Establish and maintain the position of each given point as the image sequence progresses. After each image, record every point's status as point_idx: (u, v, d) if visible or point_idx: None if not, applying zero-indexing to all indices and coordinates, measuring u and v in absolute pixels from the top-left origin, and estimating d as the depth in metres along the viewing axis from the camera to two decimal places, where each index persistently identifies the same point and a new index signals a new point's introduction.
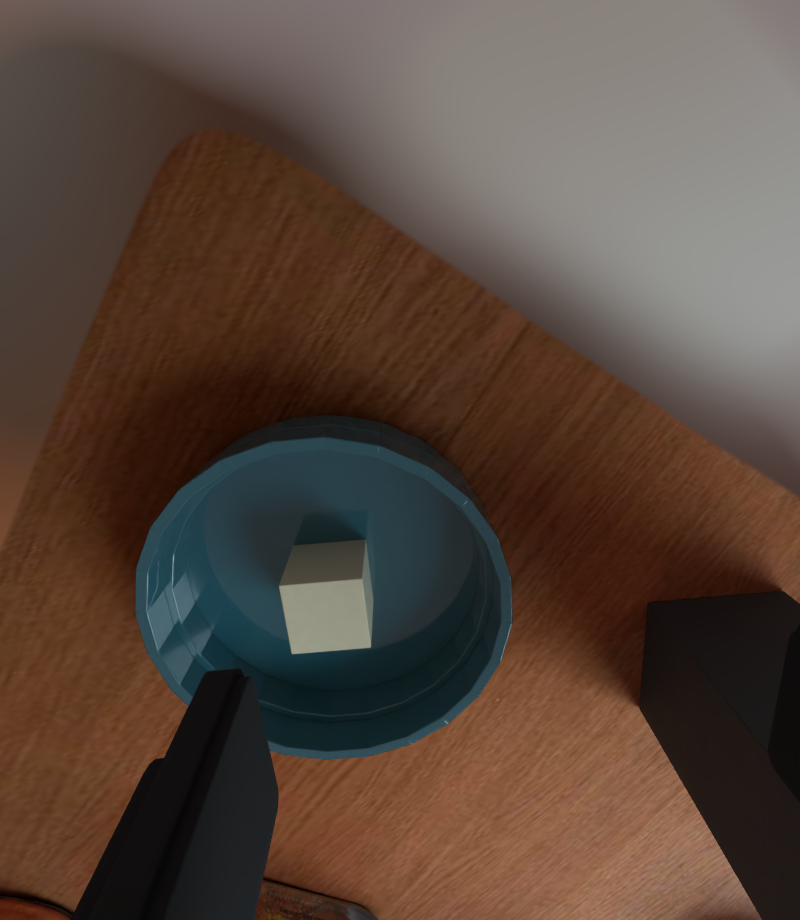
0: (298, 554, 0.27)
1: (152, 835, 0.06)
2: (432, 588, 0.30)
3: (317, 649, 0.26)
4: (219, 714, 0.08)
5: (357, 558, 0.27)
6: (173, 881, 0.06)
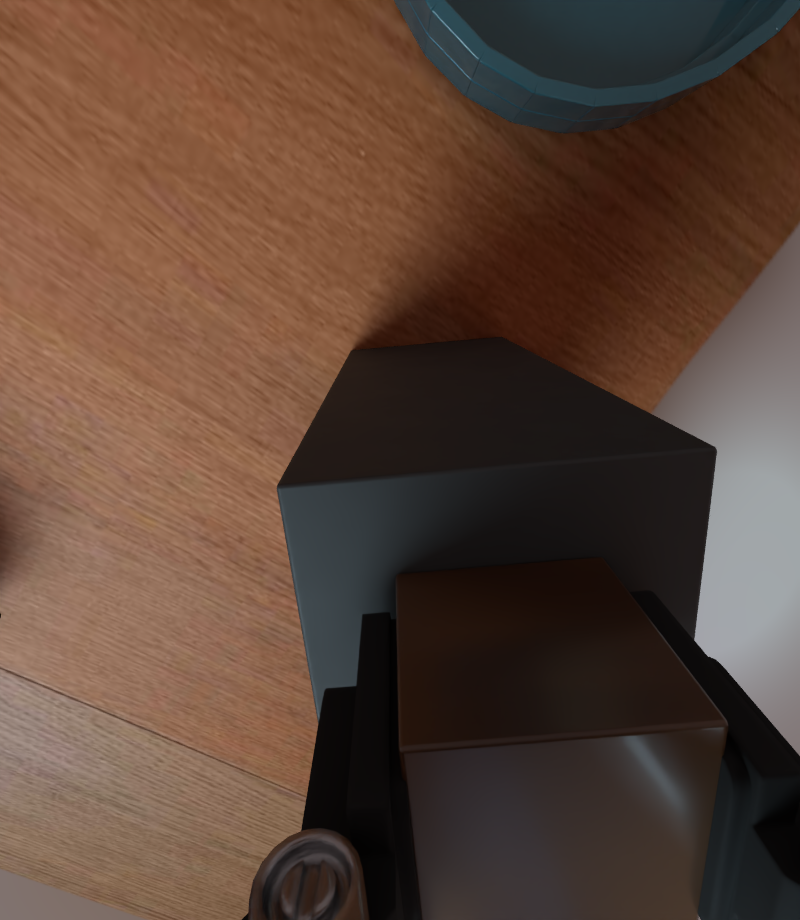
0: None
1: (374, 732, 0.07)
2: (556, 37, 0.23)
3: None
4: (389, 646, 0.09)
5: None
6: None
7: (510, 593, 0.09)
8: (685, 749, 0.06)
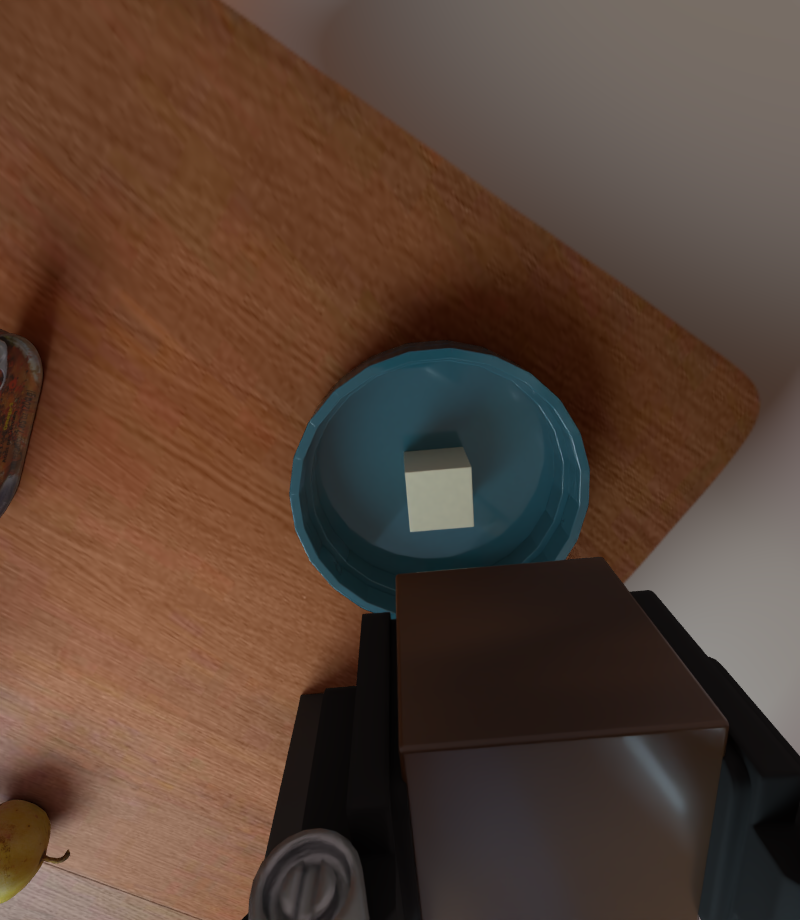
0: None
1: (374, 731, 0.07)
2: (419, 548, 0.37)
3: (409, 492, 0.32)
4: (389, 646, 0.09)
5: None
6: None
7: (510, 593, 0.09)
8: (685, 750, 0.06)
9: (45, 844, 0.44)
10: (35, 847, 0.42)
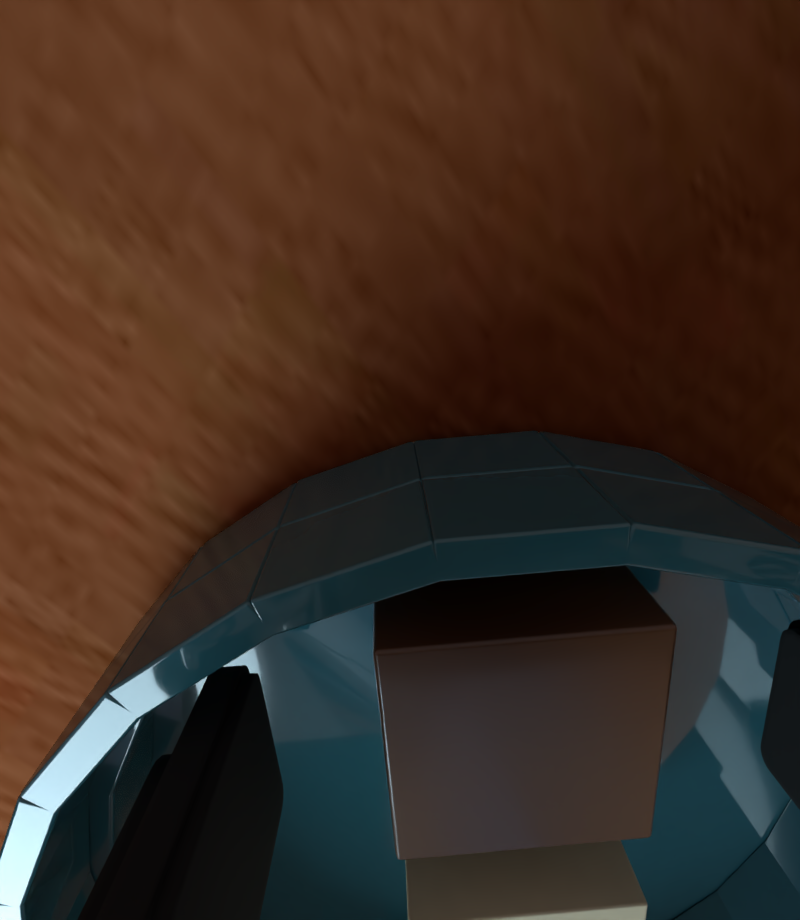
0: None
1: (161, 829, 0.06)
2: None
3: None
4: (226, 710, 0.08)
5: None
6: (183, 874, 0.06)
7: None
8: (637, 652, 0.07)
9: None
10: None
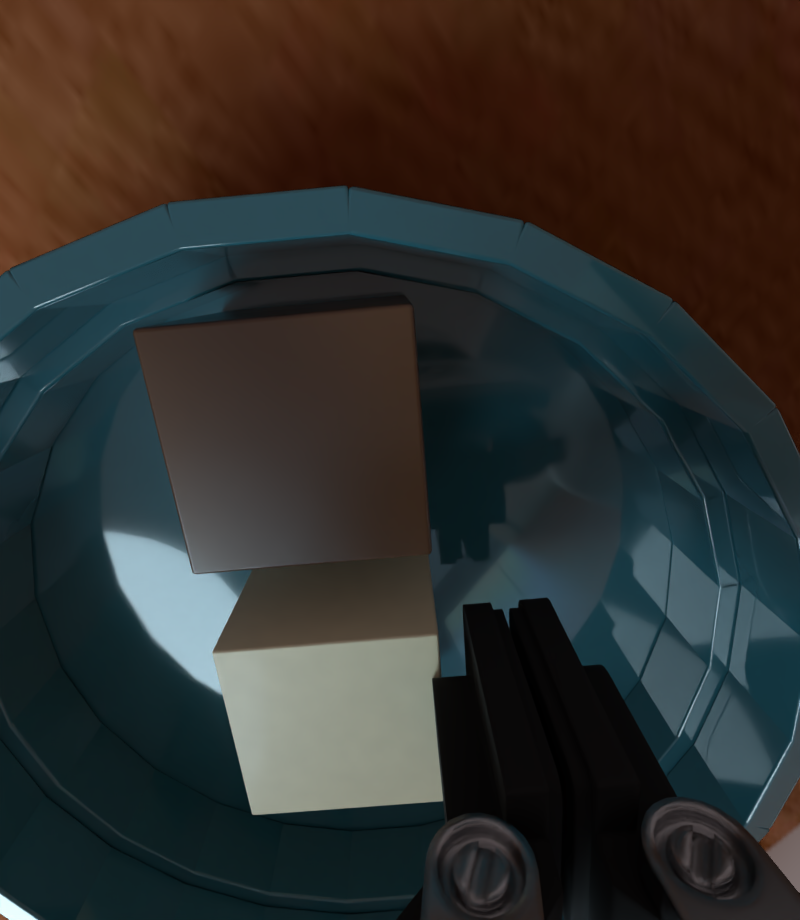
0: None
1: (511, 718, 0.07)
2: None
3: (235, 711, 0.10)
4: (500, 635, 0.09)
5: None
6: (546, 751, 0.07)
7: (305, 305, 0.10)
8: (378, 333, 0.07)
9: None
10: None
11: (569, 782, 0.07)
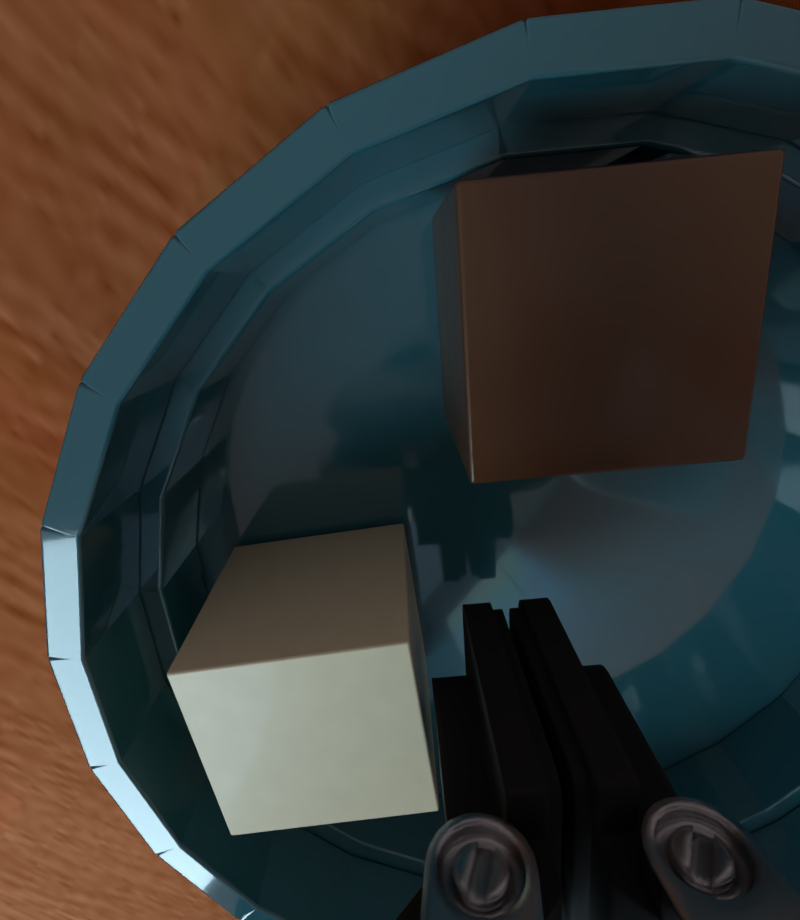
0: (407, 565, 0.11)
1: (511, 718, 0.07)
2: None
3: (199, 733, 0.09)
4: (499, 635, 0.09)
5: (430, 713, 0.11)
6: (546, 750, 0.07)
7: None
8: (740, 184, 0.06)
9: None
10: None
11: (569, 782, 0.07)
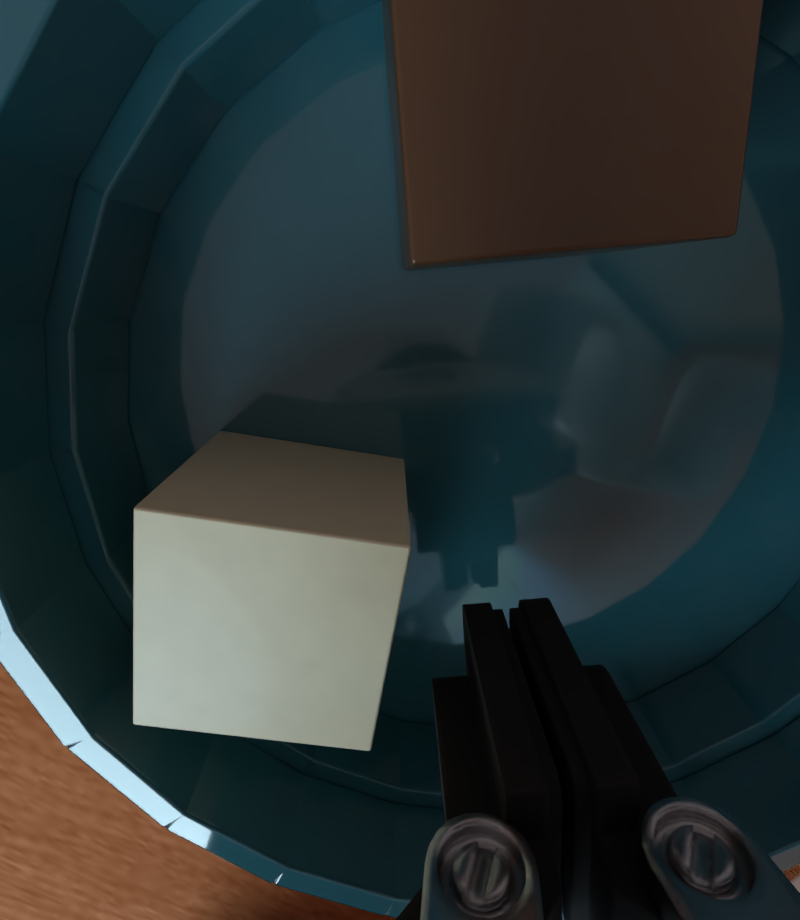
0: None
1: (510, 718, 0.07)
2: (455, 647, 0.13)
3: (144, 589, 0.08)
4: (499, 635, 0.09)
5: None
6: (546, 751, 0.07)
7: None
8: None
9: None
10: None
11: (569, 782, 0.07)
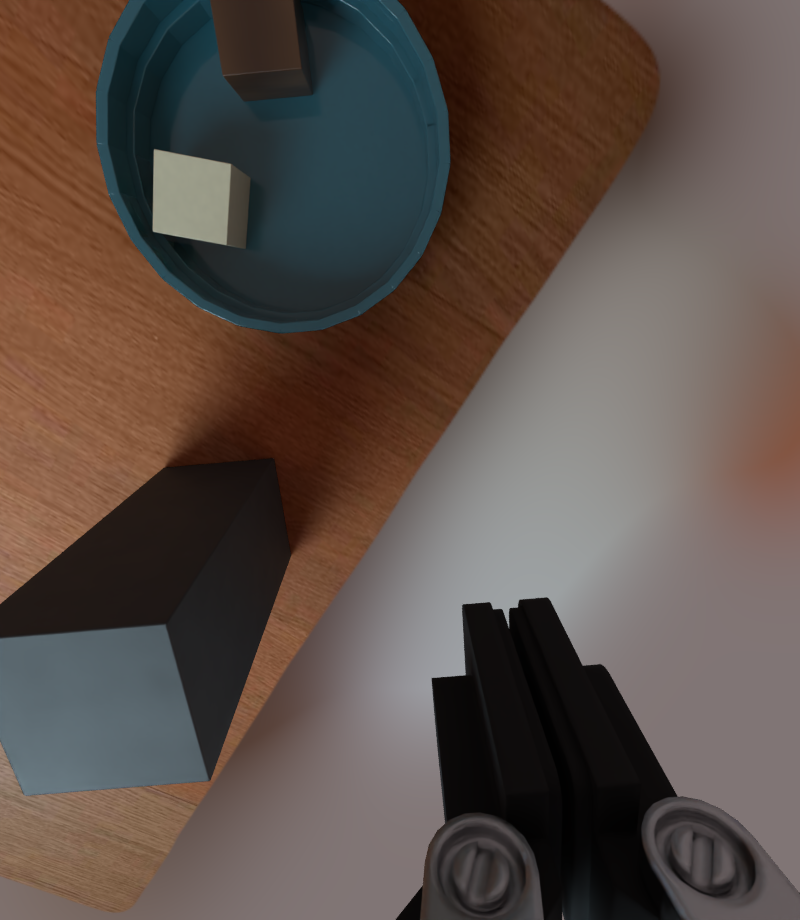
0: (245, 183, 0.30)
1: (510, 718, 0.07)
2: (279, 267, 0.33)
3: (156, 177, 0.27)
4: (499, 635, 0.09)
5: (237, 240, 0.30)
6: (545, 751, 0.07)
7: None
8: None
9: None
10: None
11: (569, 782, 0.07)
